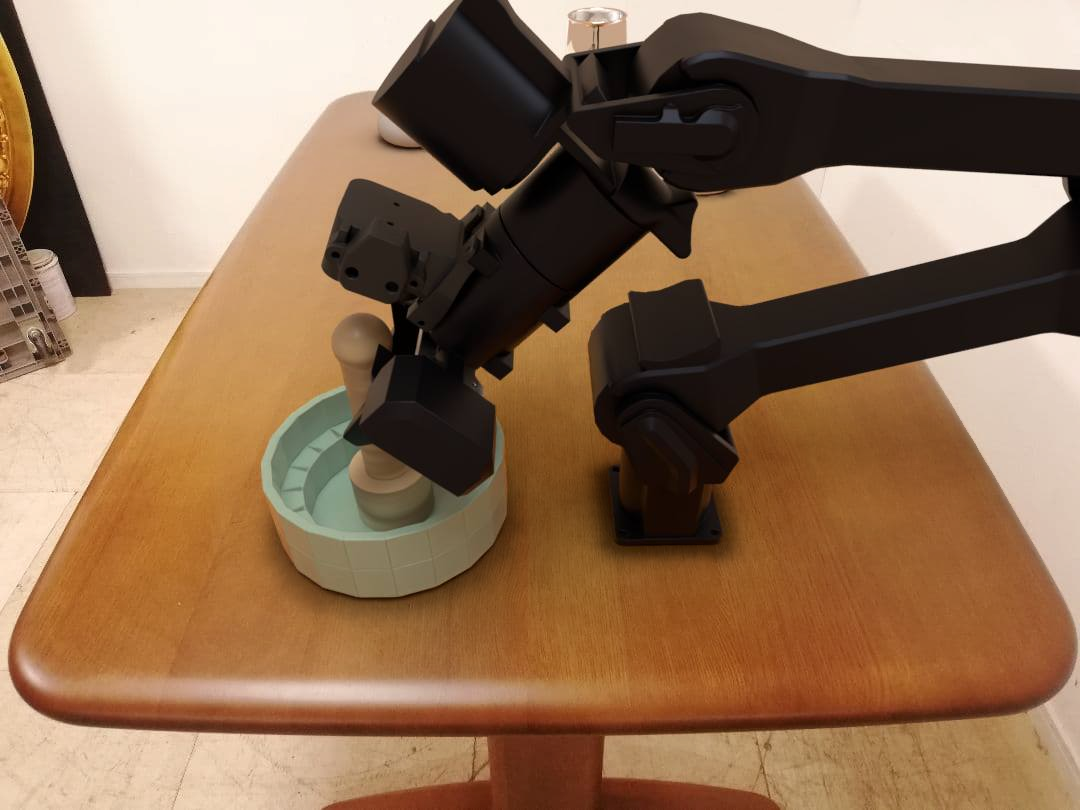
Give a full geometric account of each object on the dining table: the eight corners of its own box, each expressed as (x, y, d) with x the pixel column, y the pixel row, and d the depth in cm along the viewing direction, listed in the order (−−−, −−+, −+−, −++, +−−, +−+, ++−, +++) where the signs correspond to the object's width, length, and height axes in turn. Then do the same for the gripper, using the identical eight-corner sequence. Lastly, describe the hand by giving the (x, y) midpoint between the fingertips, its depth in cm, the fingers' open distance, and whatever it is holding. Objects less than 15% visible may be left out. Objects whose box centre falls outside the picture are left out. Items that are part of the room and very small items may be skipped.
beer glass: (555, 143, 96) (555, 11, 87) (605, 133, 98) (610, 3, 89) (581, 163, 91) (583, 26, 82) (633, 153, 94) (641, 17, 84)
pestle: (449, 492, 50) (421, 306, 41) (405, 544, 47) (364, 354, 38) (389, 469, 52) (350, 285, 43) (343, 517, 49) (290, 329, 40)
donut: (448, 119, 104) (373, 127, 102) (446, 92, 102) (369, 100, 99) (465, 146, 96) (385, 155, 94) (464, 118, 94) (381, 127, 92)
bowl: (504, 601, 44) (499, 537, 41) (255, 604, 44) (229, 541, 41) (510, 434, 55) (506, 372, 52) (310, 437, 55) (293, 376, 52)
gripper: (432, 67, 41) (275, 256, 49) (377, 233, 27) (165, 465, 34) (578, 203, 46) (416, 355, 54) (597, 403, 32) (372, 575, 39)
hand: (354, 421), depth 45 cm, fingers open, 3 cm apart
